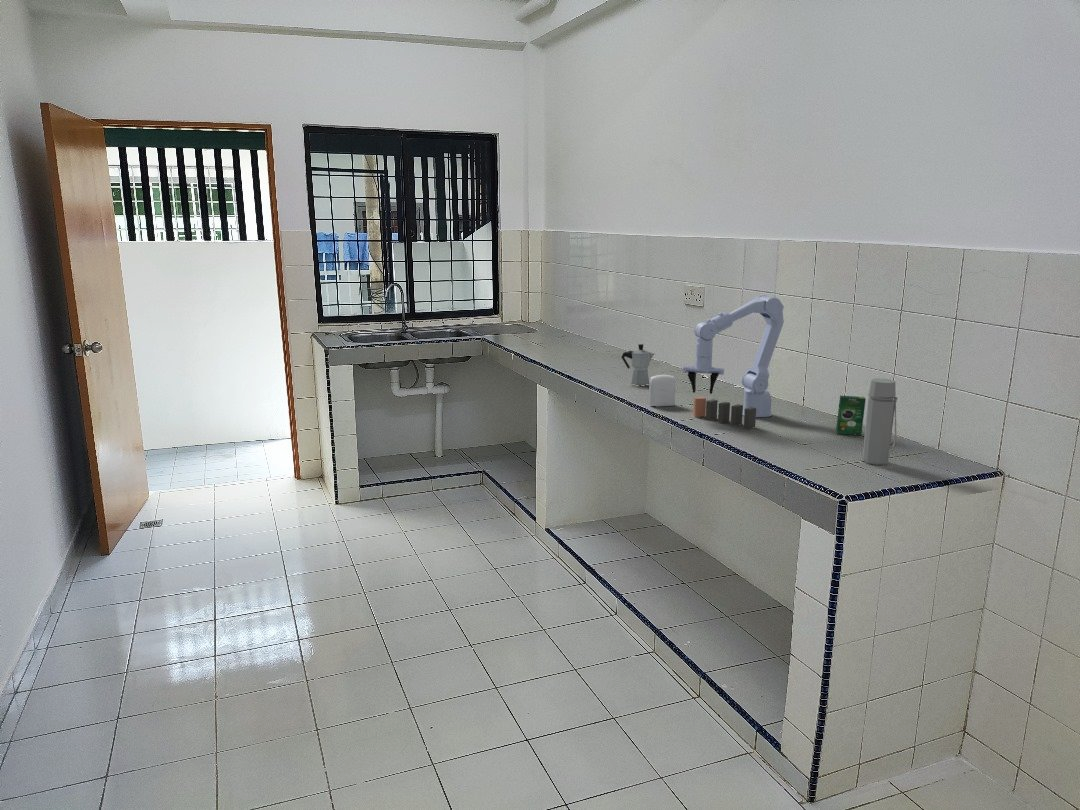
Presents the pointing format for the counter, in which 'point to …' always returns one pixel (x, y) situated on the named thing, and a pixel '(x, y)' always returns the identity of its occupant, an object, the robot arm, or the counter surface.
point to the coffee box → (850, 415)
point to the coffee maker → (639, 365)
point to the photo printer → (662, 390)
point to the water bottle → (879, 421)
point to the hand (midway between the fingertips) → (702, 392)
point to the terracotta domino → (699, 406)
